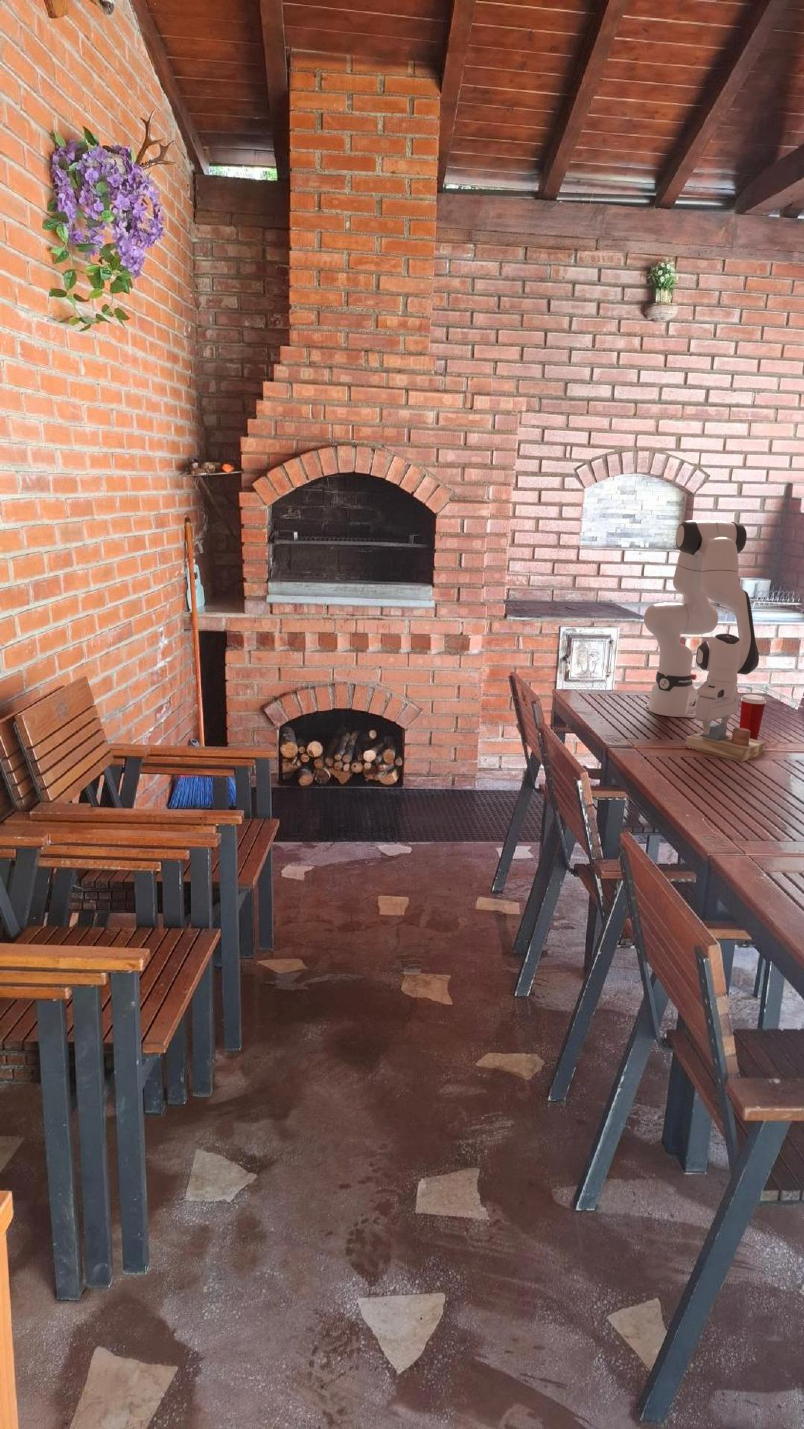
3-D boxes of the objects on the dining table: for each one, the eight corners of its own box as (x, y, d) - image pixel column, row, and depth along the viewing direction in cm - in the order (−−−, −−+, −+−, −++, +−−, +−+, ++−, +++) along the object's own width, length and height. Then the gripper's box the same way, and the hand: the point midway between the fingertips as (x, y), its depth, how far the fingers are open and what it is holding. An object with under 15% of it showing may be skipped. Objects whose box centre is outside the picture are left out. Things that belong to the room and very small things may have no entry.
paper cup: (761, 738, 296) (767, 696, 292) (759, 743, 289) (766, 701, 285) (736, 734, 299) (742, 692, 295) (733, 740, 292) (739, 697, 288)
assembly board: (710, 739, 291) (713, 716, 290) (764, 753, 279) (767, 729, 277) (685, 747, 282) (688, 724, 280) (740, 762, 269) (743, 737, 267)
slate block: (709, 740, 286) (712, 722, 285) (724, 744, 283) (727, 726, 281) (701, 743, 283) (704, 724, 281) (716, 747, 279) (719, 728, 278)
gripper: (728, 681, 287) (722, 724, 291) (694, 690, 274) (688, 734, 277) (747, 685, 283) (740, 728, 286) (713, 694, 269) (707, 739, 273)
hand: (714, 731), depth 282 cm, fingers open, 8 cm apart
